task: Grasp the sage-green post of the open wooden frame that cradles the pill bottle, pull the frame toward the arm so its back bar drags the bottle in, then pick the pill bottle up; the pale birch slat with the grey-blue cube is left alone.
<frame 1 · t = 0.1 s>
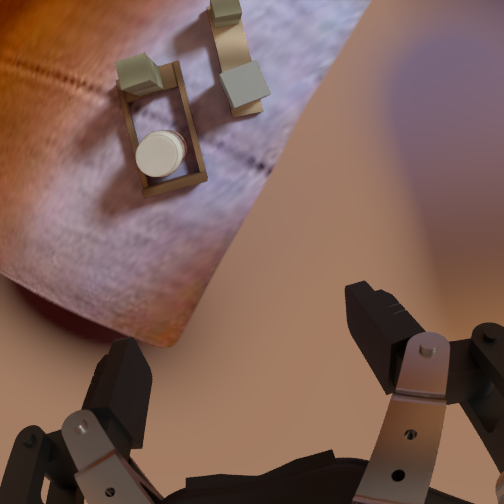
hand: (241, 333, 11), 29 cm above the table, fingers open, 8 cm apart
open wooden frame: (155, 128, 30), point 5 cm above the table, slide at 0.0 cm
pill bottle: (168, 149, 36), resting in open wooden frame
birch slat: (234, 58, 32), on the table
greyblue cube: (242, 87, 33), point 1 cm above the table, touching birch slat
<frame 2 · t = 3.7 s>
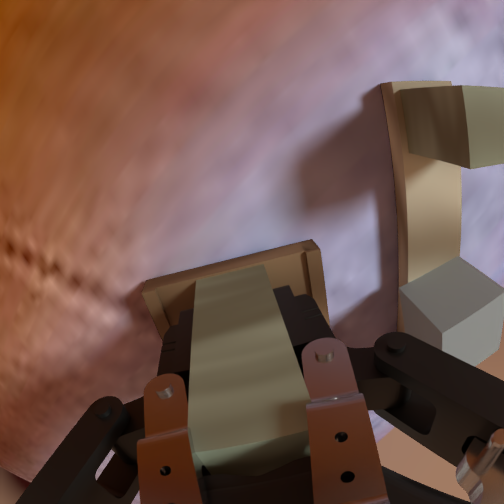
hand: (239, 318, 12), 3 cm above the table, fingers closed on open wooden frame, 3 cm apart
open wooden frame: (274, 442, 13), point 5 cm above the table, slide at 0.0 cm, touching gripper
birch slat: (425, 226, 15), on the table
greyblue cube: (432, 300, 15), point 1 cm above the table, touching birch slat
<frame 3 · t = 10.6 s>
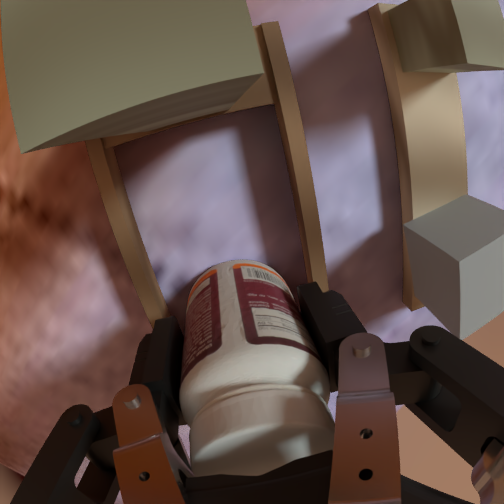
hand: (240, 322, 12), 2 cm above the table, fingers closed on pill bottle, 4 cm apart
open wooden frame: (221, 279, 9), point 5 cm above the table, slide at 5.4 cm
pill bottle: (239, 302, 15), resting in open wooden frame, touching gripper
birch slat: (427, 160, 13), on the table
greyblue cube: (441, 245, 14), point 1 cm above the table, touching birch slat
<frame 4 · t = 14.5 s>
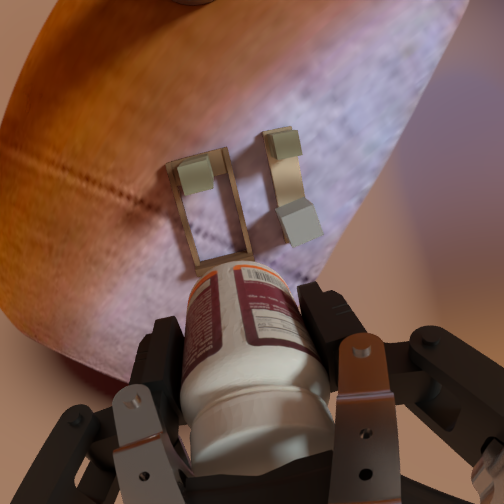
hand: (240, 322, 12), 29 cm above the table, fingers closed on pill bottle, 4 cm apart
open wooden frame: (210, 221, 36), point 5 cm above the table, slide at 5.4 cm
pill bottle: (240, 303, 15), point 27 cm above the table, touching gripper
birch slat: (287, 185, 40), on the table
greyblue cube: (294, 216, 41), point 1 cm above the table, touching birch slat
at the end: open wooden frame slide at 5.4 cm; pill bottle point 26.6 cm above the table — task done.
